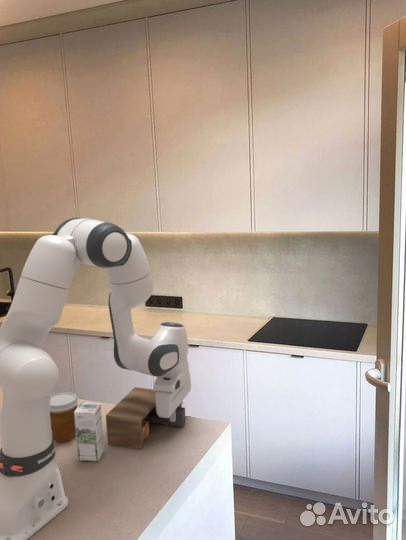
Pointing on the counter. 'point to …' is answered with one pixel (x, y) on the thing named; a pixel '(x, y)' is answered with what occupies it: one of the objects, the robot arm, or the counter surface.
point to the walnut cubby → (130, 418)
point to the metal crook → (179, 422)
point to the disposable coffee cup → (63, 416)
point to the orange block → (145, 429)
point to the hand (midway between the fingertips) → (175, 417)
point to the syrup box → (89, 431)
